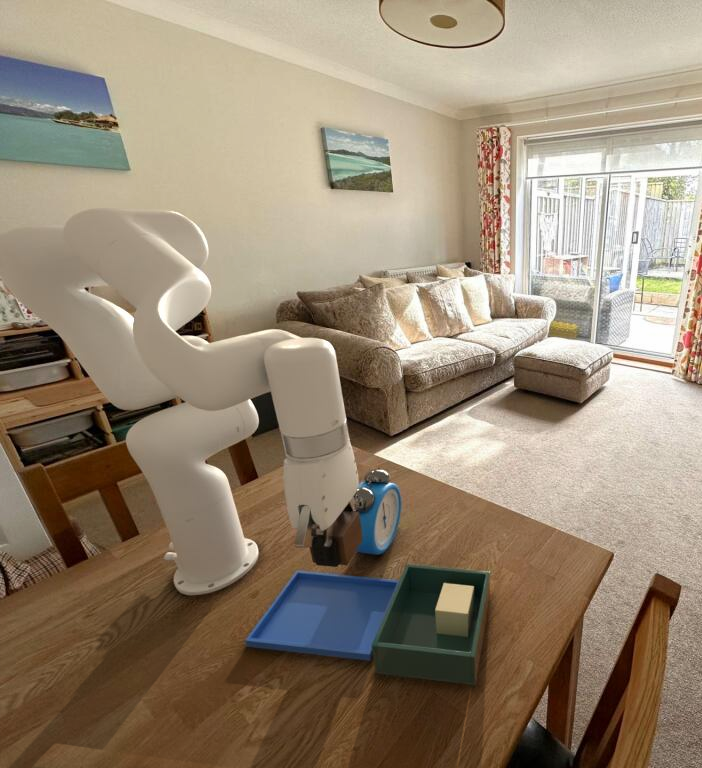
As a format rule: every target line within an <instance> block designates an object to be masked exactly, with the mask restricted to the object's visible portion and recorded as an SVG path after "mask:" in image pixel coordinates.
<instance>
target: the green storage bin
mask: <svg viewBox="0 0 702 768" xmlns="http://www.w3.org/2000/svg"><path fill="white" fill-rule="evenodd" d="M398 581H399V583H398V585H397V587H396V590H395V592H394V594H393V597H392V599H391V601H390V604H389V606H388V608H387V611H386V613H385V615H384V618H383V620H382V622H381V625H380V627H379V629H378V632H377V634H376V636H375V639H374V641H373V643H372V652H373V656H372V658H373V666H374V671H375V674H381V675H388V676H395V677H405V678H413V679H421V680H430V681H439V682H447V683H456V684H463V685H464V684H465V685H470V687H473V688H474V687H476V684H477V677H478V673H479V666H480V660H481V654H482V648H483V643H484V637H485V629H486V623H487V618H488V613H489V607H490V602H491V601H490V599H491V571H485V570H474V569H464V568H454V567H442V566H431V565H421V564H410V563H406V564H405V567H404V569H403V571H402V573H401V576H400V578H399V580H398ZM444 583H448V584H457V585H467V586H474V613H473V618H472V622H471V627H470V632H469V636H468V637H463V636H455V635H446V634H438V633H437V631H436V616H435V609H436V606H437V603H438V600H439V596H440V593H441V590H442V587H443V584H444Z"/></svg>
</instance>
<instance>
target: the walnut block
mask: <svg viewBox="0 0 702 768" xmlns="http://www.w3.org/2000/svg"><path fill="white" fill-rule="evenodd" d="M316 536H321V537H323V531H322V530H321V529H316ZM332 541H336V545H337V550H338V555H339V560H340V564H339V565H338V566H348V565H349V564H350V562H351V561H352V558H353V557H354V556H355V554H356V553H357V552H356V550H357V549H358V547H359V545H360V544H361V542H362V541H363V535H362V529H361V523H360V517H359V512H349V511H342V512H341V514H340V515H339V516H338V518H337V519H336V520H335V521H334V523H333V524H332ZM309 552H310V556H311V559H312V560H311V561H312V563H315V558H314V554H313V549H312V547H309ZM315 564H316V563H315Z"/></svg>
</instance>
